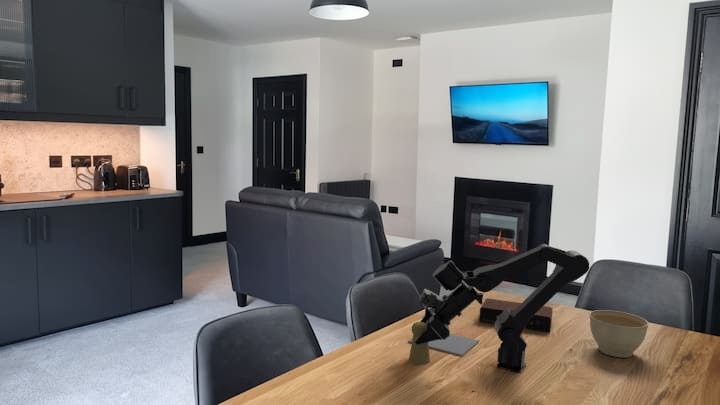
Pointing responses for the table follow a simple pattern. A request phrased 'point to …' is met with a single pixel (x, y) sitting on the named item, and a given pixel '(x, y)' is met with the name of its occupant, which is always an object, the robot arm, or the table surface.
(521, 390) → the table surface
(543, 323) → the dark brown rectangular block
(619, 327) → the planter bowl
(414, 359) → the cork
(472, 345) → the mat
